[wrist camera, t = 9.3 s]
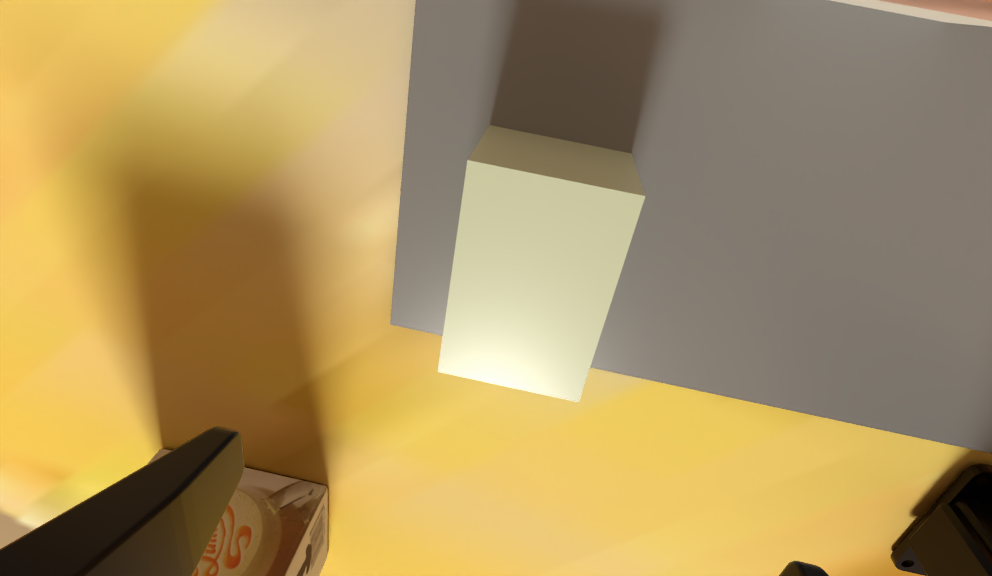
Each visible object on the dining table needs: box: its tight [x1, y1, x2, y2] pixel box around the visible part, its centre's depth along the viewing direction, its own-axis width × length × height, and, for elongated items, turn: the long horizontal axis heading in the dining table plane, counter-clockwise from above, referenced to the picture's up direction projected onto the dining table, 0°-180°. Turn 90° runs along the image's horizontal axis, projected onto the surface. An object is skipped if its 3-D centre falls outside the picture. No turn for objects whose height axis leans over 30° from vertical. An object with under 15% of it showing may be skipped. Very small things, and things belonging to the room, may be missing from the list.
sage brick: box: [438, 125, 645, 402], centre depth 17 cm, size 7×5×4 cm, turn 171°
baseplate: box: [390, 0, 992, 453], centre depth 14 cm, size 24×22×4 cm
